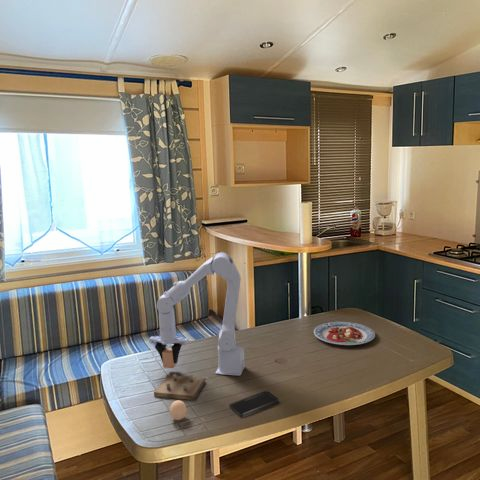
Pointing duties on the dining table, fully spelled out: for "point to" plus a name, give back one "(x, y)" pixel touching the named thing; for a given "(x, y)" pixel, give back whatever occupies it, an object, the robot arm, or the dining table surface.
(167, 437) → the dining table surface
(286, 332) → the dining table surface
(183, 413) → the egg
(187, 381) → the peg stand
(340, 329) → the ceramic plate
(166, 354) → the pink block
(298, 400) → the dining table surface
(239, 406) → the phone
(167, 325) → the robot arm
